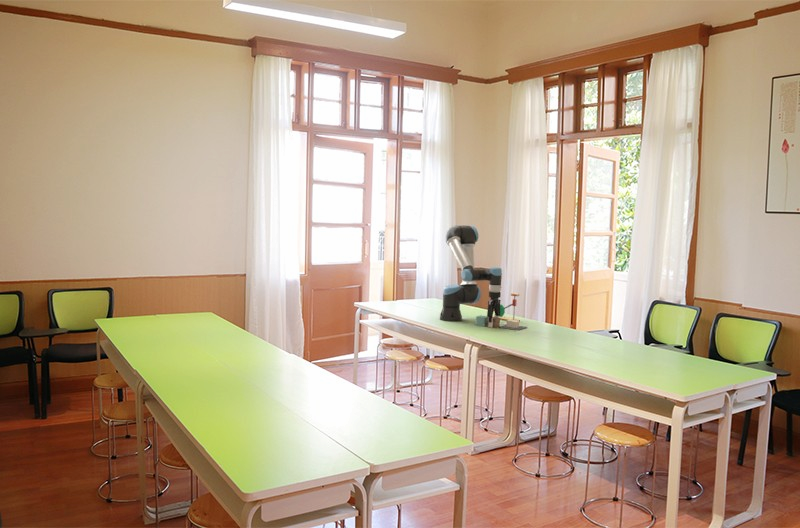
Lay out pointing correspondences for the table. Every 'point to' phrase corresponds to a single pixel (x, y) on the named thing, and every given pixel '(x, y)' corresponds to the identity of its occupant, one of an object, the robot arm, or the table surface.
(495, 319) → the walnut brick
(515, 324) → the mat
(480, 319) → the teal brick
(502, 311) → the crank mechanism
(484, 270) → the robot arm
